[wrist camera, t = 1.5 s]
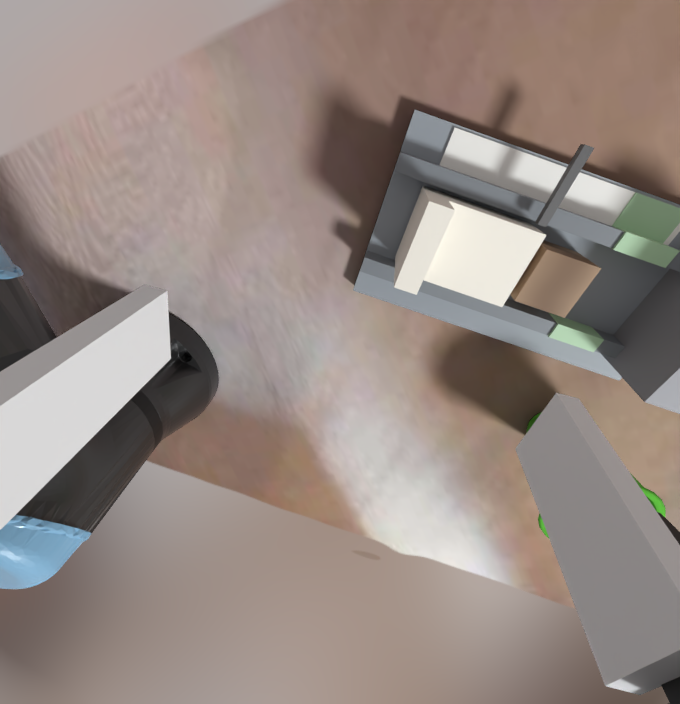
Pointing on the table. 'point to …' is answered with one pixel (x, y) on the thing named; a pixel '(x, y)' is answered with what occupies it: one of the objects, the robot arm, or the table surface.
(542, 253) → the tan wooden cube
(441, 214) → the cream block
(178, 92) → the table surface
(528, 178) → the base
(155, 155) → the table surface
